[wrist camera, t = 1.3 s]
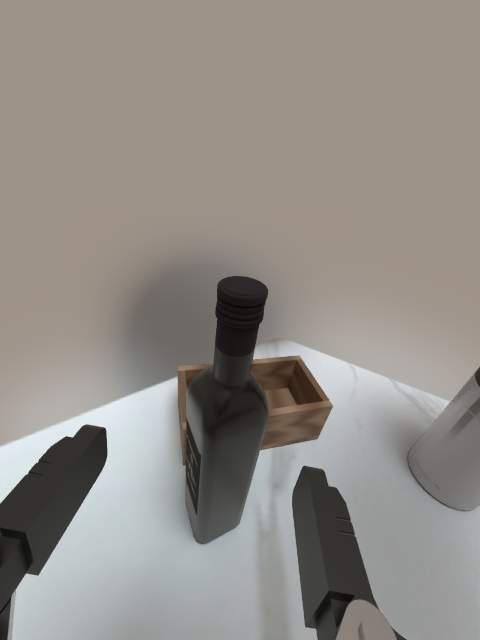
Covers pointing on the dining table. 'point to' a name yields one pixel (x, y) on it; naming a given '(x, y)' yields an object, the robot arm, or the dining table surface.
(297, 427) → the bottle rack
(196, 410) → the wine bottle
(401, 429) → the dining table surface
